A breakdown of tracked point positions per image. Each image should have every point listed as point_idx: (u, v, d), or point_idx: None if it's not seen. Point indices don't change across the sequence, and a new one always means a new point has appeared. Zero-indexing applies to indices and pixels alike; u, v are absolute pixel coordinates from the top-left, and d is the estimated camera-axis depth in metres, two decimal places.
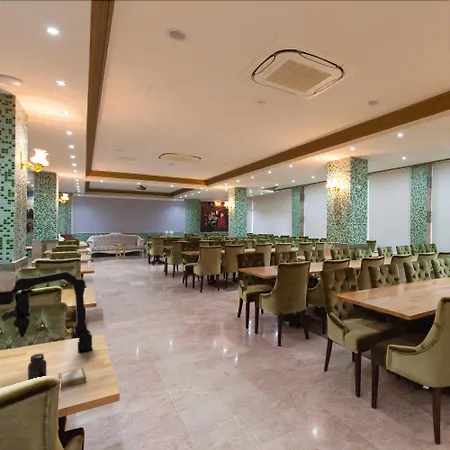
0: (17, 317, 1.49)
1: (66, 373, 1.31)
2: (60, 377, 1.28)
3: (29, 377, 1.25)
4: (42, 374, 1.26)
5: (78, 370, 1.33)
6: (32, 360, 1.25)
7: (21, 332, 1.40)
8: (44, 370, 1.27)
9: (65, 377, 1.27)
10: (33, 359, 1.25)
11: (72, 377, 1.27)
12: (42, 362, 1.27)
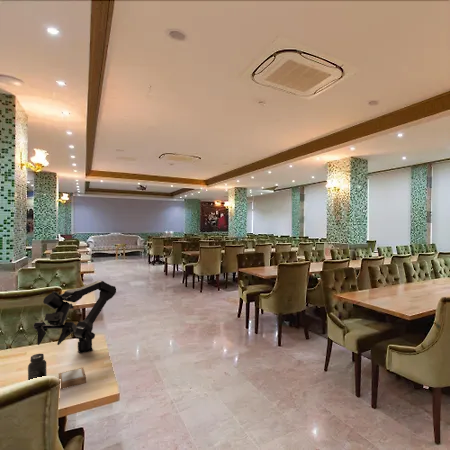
0: None
1: (66, 373, 1.31)
2: (60, 377, 1.28)
3: (29, 377, 1.25)
4: (42, 374, 1.26)
5: (78, 370, 1.33)
6: (32, 360, 1.25)
7: (61, 338, 1.37)
8: (44, 370, 1.27)
9: (65, 377, 1.27)
10: (33, 359, 1.25)
11: (72, 377, 1.27)
12: (42, 362, 1.27)
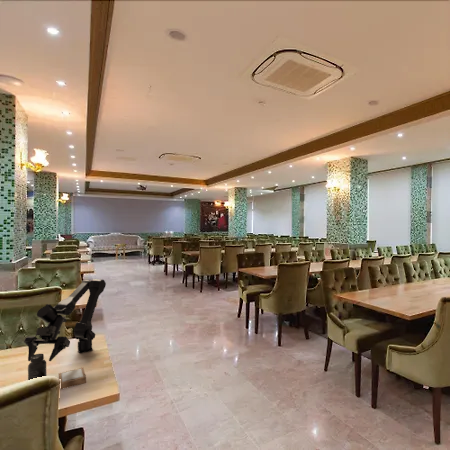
0: (29, 343, 1.32)
1: (66, 373, 1.31)
2: (60, 377, 1.28)
3: (29, 377, 1.25)
4: (42, 374, 1.26)
5: (78, 370, 1.33)
6: (32, 360, 1.25)
7: (54, 354, 1.31)
8: (44, 370, 1.27)
9: (65, 377, 1.27)
10: (33, 359, 1.25)
11: (72, 377, 1.27)
12: (42, 362, 1.27)
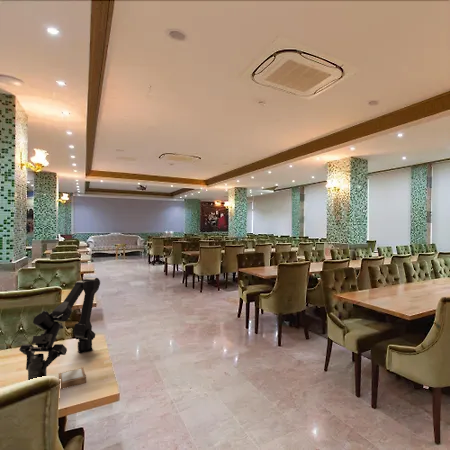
0: (28, 351, 1.29)
1: (66, 373, 1.31)
2: (60, 377, 1.28)
3: (29, 377, 1.25)
4: (42, 374, 1.26)
5: (78, 370, 1.33)
6: (32, 360, 1.25)
7: (48, 363, 1.28)
8: (44, 370, 1.27)
9: (65, 377, 1.27)
10: (33, 359, 1.25)
11: (72, 377, 1.27)
12: (42, 362, 1.27)
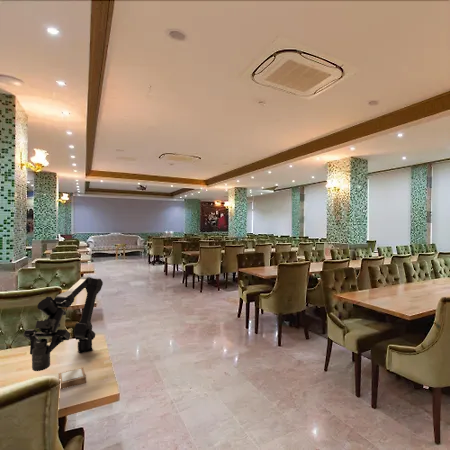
0: (31, 336, 1.30)
1: (66, 373, 1.31)
2: (60, 377, 1.28)
3: (33, 361, 1.25)
4: (46, 359, 1.27)
5: (78, 370, 1.33)
6: (36, 345, 1.26)
7: (51, 347, 1.28)
8: (48, 355, 1.28)
9: (65, 377, 1.27)
10: (37, 344, 1.26)
11: (72, 377, 1.27)
12: (46, 347, 1.27)
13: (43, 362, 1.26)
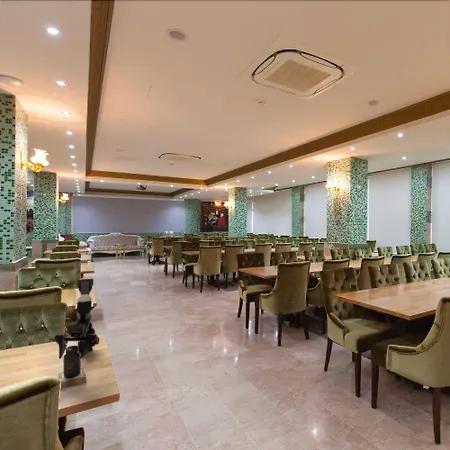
0: None
1: None
2: (60, 377, 1.28)
3: (65, 368, 1.27)
4: (77, 365, 1.28)
5: None
6: (67, 352, 1.27)
7: (84, 352, 1.30)
8: (79, 362, 1.29)
9: None
10: (68, 351, 1.27)
11: None
12: (77, 354, 1.29)
13: (75, 369, 1.27)
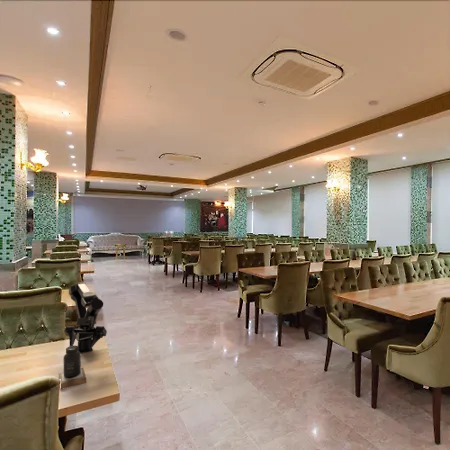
0: (70, 332, 1.41)
1: None
2: (60, 377, 1.28)
3: (65, 368, 1.27)
4: (77, 365, 1.28)
5: None
6: (68, 352, 1.27)
7: (93, 343, 1.39)
8: (79, 362, 1.29)
9: None
10: (69, 351, 1.27)
11: None
12: (77, 354, 1.29)
13: (75, 369, 1.27)
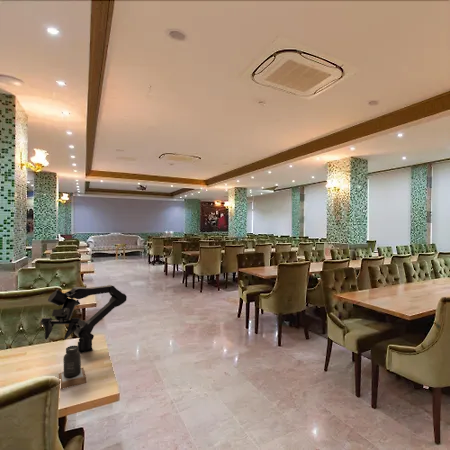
0: None
1: None
2: (60, 377, 1.28)
3: (65, 368, 1.27)
4: (77, 365, 1.28)
5: None
6: (68, 352, 1.27)
7: (68, 333, 1.43)
8: (79, 362, 1.29)
9: None
10: (69, 351, 1.27)
11: None
12: (77, 354, 1.29)
13: (75, 369, 1.27)
